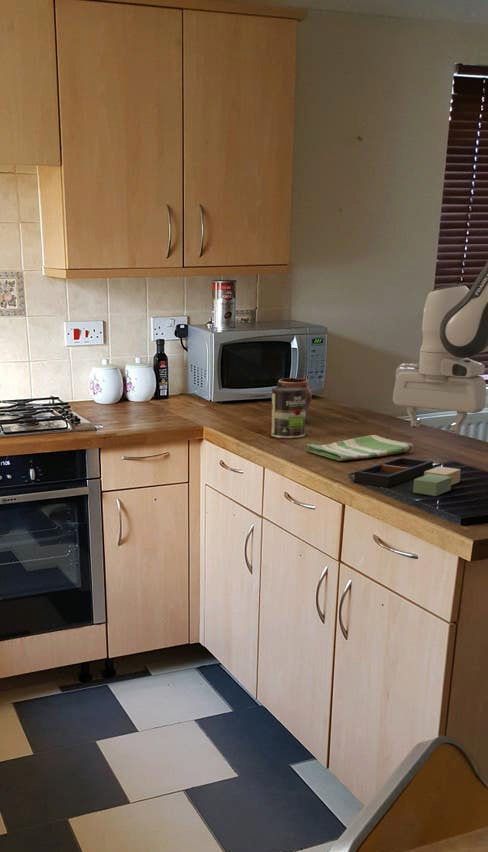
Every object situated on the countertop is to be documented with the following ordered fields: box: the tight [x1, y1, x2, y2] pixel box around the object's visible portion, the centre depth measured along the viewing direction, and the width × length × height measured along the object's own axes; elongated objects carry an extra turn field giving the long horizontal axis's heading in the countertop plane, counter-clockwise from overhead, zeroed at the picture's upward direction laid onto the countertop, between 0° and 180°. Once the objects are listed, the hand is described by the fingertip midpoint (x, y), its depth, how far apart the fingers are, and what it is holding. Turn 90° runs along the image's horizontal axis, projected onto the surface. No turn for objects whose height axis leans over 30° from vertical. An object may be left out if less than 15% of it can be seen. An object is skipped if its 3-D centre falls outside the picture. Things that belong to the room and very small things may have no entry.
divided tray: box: [353, 456, 434, 488], centre depth 210 cm, size 9×21×2 cm, turn 136°
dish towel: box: [306, 434, 414, 462], centre depth 238 cm, size 18×23×3 cm
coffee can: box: [270, 386, 307, 439], centre depth 263 cm, size 10×10×14 cm
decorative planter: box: [276, 377, 312, 417], centre depth 285 cm, size 20×12×14 cm, turn 10°
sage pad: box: [412, 474, 452, 497], centre depth 195 cm, size 6×7×3 cm
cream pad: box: [423, 465, 462, 486], centre depth 202 cm, size 6×7×3 cm
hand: (435, 429), depth 191 cm, fingers open, 8 cm apart
